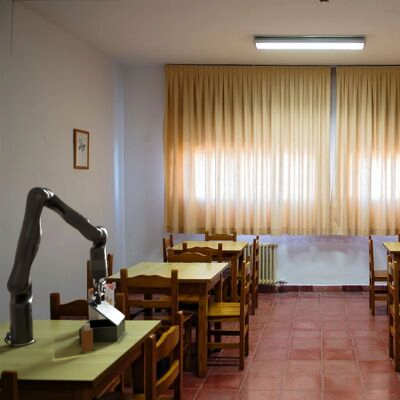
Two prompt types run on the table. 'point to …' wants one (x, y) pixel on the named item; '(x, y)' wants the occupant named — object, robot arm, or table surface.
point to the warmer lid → (106, 310)
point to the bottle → (87, 338)
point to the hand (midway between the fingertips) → (100, 302)
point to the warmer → (105, 330)
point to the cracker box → (108, 297)
